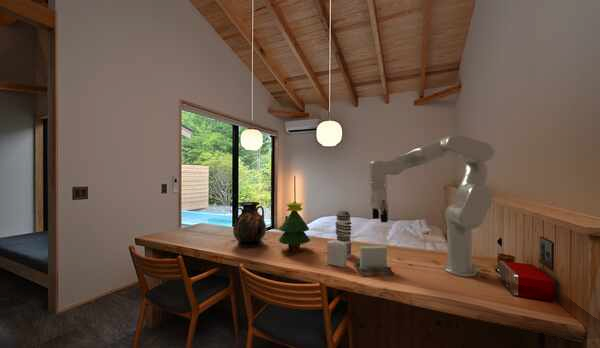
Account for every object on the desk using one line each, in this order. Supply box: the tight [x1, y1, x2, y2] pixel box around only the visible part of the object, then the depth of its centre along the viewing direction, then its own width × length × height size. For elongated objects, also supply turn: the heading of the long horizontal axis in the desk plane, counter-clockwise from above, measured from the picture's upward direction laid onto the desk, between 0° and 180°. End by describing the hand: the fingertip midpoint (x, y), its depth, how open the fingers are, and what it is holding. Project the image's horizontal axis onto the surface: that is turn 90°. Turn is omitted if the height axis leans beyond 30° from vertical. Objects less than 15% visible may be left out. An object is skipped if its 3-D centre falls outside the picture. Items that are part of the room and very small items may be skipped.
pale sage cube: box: [359, 245, 388, 268], centre depth 111 cm, size 12×3×10 cm, turn 93°
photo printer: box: [326, 239, 348, 268], centre depth 118 cm, size 10×4×12 cm, turn 60°
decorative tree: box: [278, 201, 311, 253], centre depth 142 cm, size 19×19×30 cm
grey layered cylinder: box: [335, 210, 352, 258], centre depth 132 cm, size 9×9×25 cm
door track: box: [353, 261, 395, 277], centre depth 111 cm, size 15×12×3 cm
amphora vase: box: [232, 201, 267, 249], centre depth 152 cm, size 22×22×28 cm
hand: (379, 220), depth 114 cm, fingers open, 9 cm apart
